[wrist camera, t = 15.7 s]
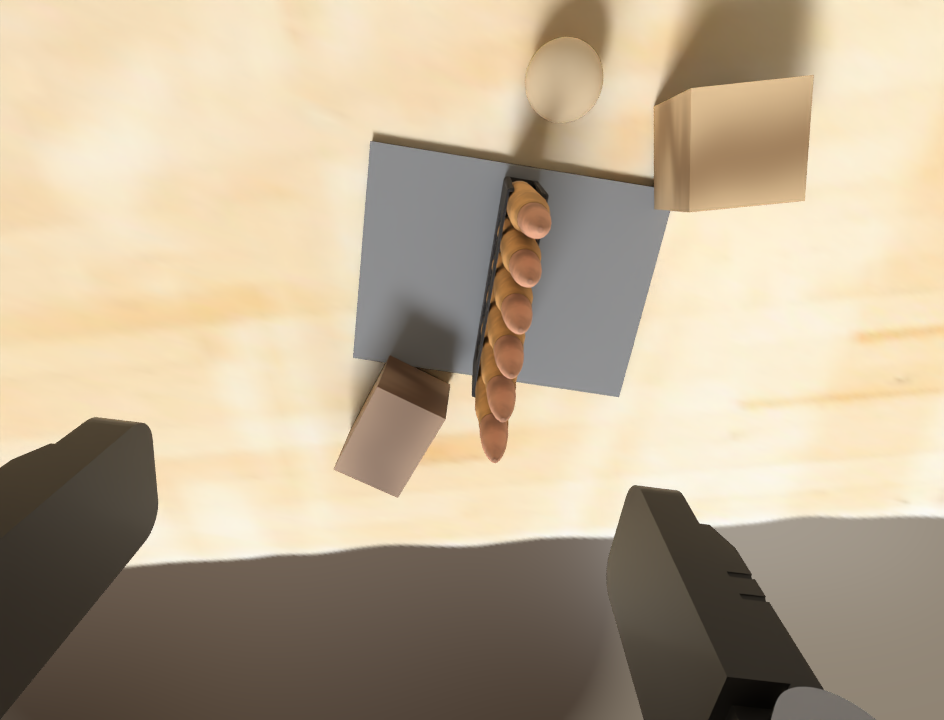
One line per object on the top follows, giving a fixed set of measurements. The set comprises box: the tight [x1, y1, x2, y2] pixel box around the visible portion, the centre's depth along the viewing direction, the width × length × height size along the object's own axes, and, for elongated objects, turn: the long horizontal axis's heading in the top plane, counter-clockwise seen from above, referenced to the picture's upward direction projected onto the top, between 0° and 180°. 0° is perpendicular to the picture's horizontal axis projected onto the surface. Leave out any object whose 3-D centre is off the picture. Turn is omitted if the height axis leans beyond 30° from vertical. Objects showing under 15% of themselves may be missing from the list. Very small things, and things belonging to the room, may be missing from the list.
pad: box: [353, 141, 670, 397], centre depth 31 cm, size 12×16×1 cm
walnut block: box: [334, 356, 450, 498], centre depth 32 cm, size 4×6×4 cm, turn 152°
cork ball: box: [525, 37, 603, 123], centre depth 26 cm, size 4×4×4 cm
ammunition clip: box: [472, 176, 552, 463], centre depth 25 cm, size 11×2×12 cm, turn 171°
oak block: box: [654, 75, 814, 212], centre depth 26 cm, size 5×5×5 cm
